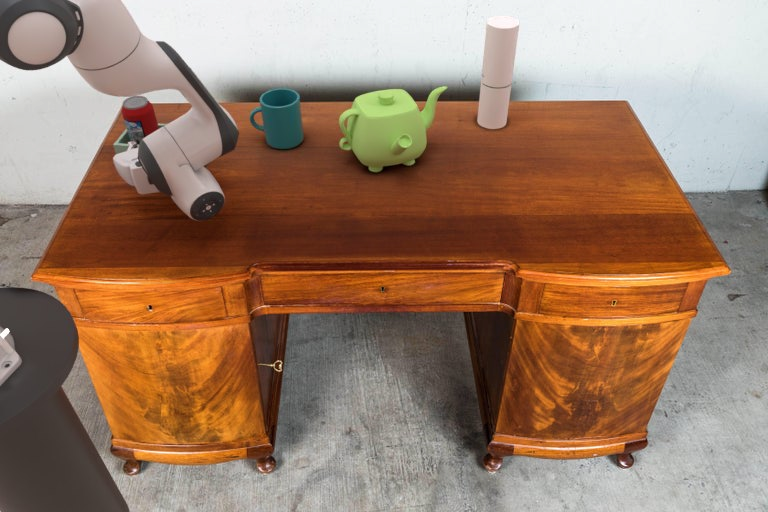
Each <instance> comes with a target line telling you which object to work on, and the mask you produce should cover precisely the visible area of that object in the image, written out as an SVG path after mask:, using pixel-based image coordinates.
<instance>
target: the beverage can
mask: <svg viewBox="0 0 768 512" xmlns="http://www.w3.org/2000/svg"><path fill="white" fill-rule="evenodd" d="M120 112H121V114H122V119H123V121H124V124H125V129H126V128H127V131H128V135H129V138H130V141H134V140H135V142H136V143H137V145H139V144H140V141H141V140H142V139H143V138H145V137H146V136H148V135H150V134H151V133H153V132H154V131H156V130H158V129H159V126H158V123H159V122H158V120H157V116H156V113H155V109H154V106H153V103H152V102H151V101H150V100H149V99H148V98H147V97H146V96H144V95H137V96H131V97H126V99H124V100H123V101H122V105H121V109H120Z"/></svg>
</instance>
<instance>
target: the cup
mask: <svg viewBox="0 0 768 512" xmlns="http://www.w3.org/2000/svg"><path fill="white" fill-rule="evenodd" d="M258 113H260V114H261V119H262V124H259V123H257V122H256V120H255V116H256V114H258ZM249 122H250V124H251V125H252V127H253V128H254V129H256V130H258V131H261V132H263V133H264V139H265V142H266V144H267V145H268V146H269V147H270V148H273V149H276V150H290V149H293V148H296V147H297V146H300V145H301V143H302V142H303V141H304V138H305V135H304V125H303V117H302V105H301V97H300V93H298V91H296V90H294V89H291V88H285V87H283V88H280V87H279V88H273V89H270V90H267V91H265V92H264V93H262V94H261V95H260V97H259V106H258V107H255V108H254V109H252V110H251V112H250V114H249Z"/></svg>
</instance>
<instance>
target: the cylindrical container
mask: <svg viewBox="0 0 768 512" xmlns="http://www.w3.org/2000/svg"><path fill="white" fill-rule="evenodd" d="M519 31H520V20H519V19H518V18H516V17H514V16H510V15H503V14H501V15H500V14H499V15H493V16H490V17H489V18H487V20H486V26H485V35H484V48H483V56H482V57H483V58H482V68H481V77H480V88H479V99H478V110H477V119H476V122H477V124H478V125H479V126H480V127H482V128H485V129H488V130H497V129H502V128H504V127H505V126H506V125H507V123H508V122H507V121H508V114H509V106H510V98H511V92H512V91H511V90H512V84H513V75H514V67H515V60H516V53H517V45H518V37H519Z"/></svg>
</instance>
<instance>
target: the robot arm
mask: <svg viewBox="0 0 768 512" xmlns="http://www.w3.org/2000/svg"><path fill="white" fill-rule="evenodd" d="M66 57H67V59H68V60H69V62H70V63H71V65H72V67H74V69H75V70H76V72H77V73H78V74H79V75H80V76H81V78H82V79H83V80H84V81H85V82H86V83H87V84H88V85H89V87H91V88H92V89H94V90H95V91H97V92H99V93H102V94H105V95H108V96H113V97H118V98H129V97H133V96H142V95H144V94H148V93H153V92H156V91H163V90H164V91H165V90H175V91H178V92H179V93H181V95H182V96H183V97H184V98H185V100H186V101H187V102H188V103H189V105H190V106H191V108H189V110H188V111H186V112H185V113H184V114H182V115H181V116H179V117H178V118H176V119H174V120H172V121H171V122H168V123H166V124H167V125H165V126H164V127H161V128H160V129H158V130H156V131H154V132H153V133H151V134H150V135H148V136H146V137H145V138H143V139H142V140H141V141H140V144H139V147H137V143H136V142H135V140H134V141H131V142H128V145H129V148H128V150H127V151H125V152H122V153H119V154H116V153H115V155H114V156H113V157H112V161H113V165H114V168H115V170H116V173H117V174H118V175H119V176H120V177H121V178H122V180H123V181H124V182H125V183H127V184H128V185H130V186H133V187H134V188H135V190H136V191H137V193H138V194H139V195H148V194H153V193H161V194H164V195H166V196H169V197H170V198H171V200H172V201H173V202H174V203H175V205H176V206H177V207H178V208H179V209H180V210H181V211H182V212H183V213H184V214H185V215H186V216H187V217H189V218H190V219H191V220H194V221H197V222H204V221H208V220H210V219H211V218H213V217H214V216H216V215H218V214H219V213H220V212H221V210H222V209H223V208H224V206H225V203H226V196H225V194H224V191H223V189H222V188H221V186H220V184H219V181H217V179H216V178H215V177H214V175H213V174H212V173H211V172H210V170H209V169H208V168H207V167H205V166H206V165H208V164H209V163H211V162H213V161H214V160H217V158H221V157H224V156H226V155H227V154H229V153H230V152H231V153H232V152H233V151H235V149H236V147H237V144H238V142H239V137H240V131H239V128H238V125H237V123H236V121H235V119H234V118H233V116H232V115H231V114H230V113H229V111H228V110H227V109H226V108H225V107H224V106H222V105H221V104H220V103H218V101H216V99H215V97H214V96H213V94H212V93H211V92H210V91H209V89H208V88H207V87H206V86H205V84H204V83H203V82H202V81H201V79H200V78H199V77H198V75H197V74H196V73H195V72H194V70H193V69H192V68H191V66H189V65H188V64H187V62H186V61H185V60H184V59H183V58H182V56H181V55H180V54H179V52H177V51H176V49H174V47H172V45H170V44H169V43H167V42H166V41H163V40H161V41H160V40H152V39H150V38H148V37H147V36H145V35H144V34H143V32H142V31H141V29H140V28H139V26H138V25H137V23H136V21H135V19H134V18H133V16H132V14H131V13H130V11H129V9H128V7H126V4H124V3H123V1H122V0H0V61H2V62H3V63H5V64H6V65H8V66H11V67H13V68H15V69H18V70H22V71H40V70H43V69H47V68H49V67H51V66H54V65H56V64H58V63H59V62H61V61H63V60H64V59H65V58H66ZM21 363H22V359H21V357H20V356H19V355H18V354H17V352H16V351H15V345H14V339H13V337H12V335H11V334H10V333H9V330H8V329H3V328H2V327H1V326H0V386H1V385H2V384H3V383H4V382H5V381H6V379H7V378H8V377H9V376H10V375H11V374H12V373H13V372H14V371H15V370H16V369H17V368H18V367H19V366H20V365H21Z"/></svg>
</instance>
